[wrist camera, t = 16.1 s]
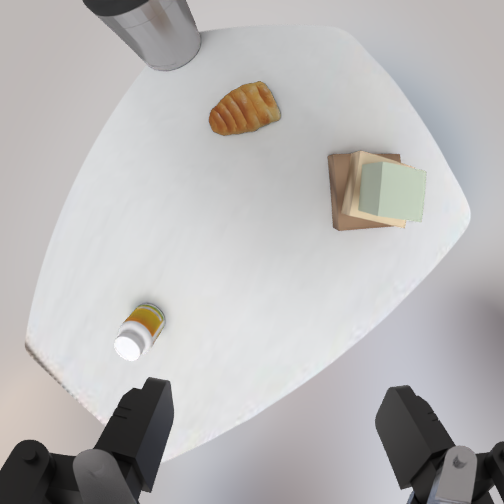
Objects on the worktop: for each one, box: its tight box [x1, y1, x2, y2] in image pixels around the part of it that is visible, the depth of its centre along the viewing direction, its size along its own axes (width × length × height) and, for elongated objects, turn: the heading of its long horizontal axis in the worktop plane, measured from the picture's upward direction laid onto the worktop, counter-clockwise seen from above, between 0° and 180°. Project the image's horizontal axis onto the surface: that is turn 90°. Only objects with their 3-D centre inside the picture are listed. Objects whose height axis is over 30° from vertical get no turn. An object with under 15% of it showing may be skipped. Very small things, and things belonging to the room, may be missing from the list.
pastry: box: [209, 81, 281, 136], centre depth 34 cm, size 9×7×4 cm
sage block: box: [358, 162, 426, 222], centre depth 28 cm, size 6×6×6 cm
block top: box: [341, 151, 414, 228], centre depth 33 cm, size 8×8×4 cm
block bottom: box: [328, 154, 401, 231], centre depth 36 cm, size 10×10×4 cm
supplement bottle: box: [114, 304, 165, 361], centre depth 38 cm, size 5×5×10 cm
